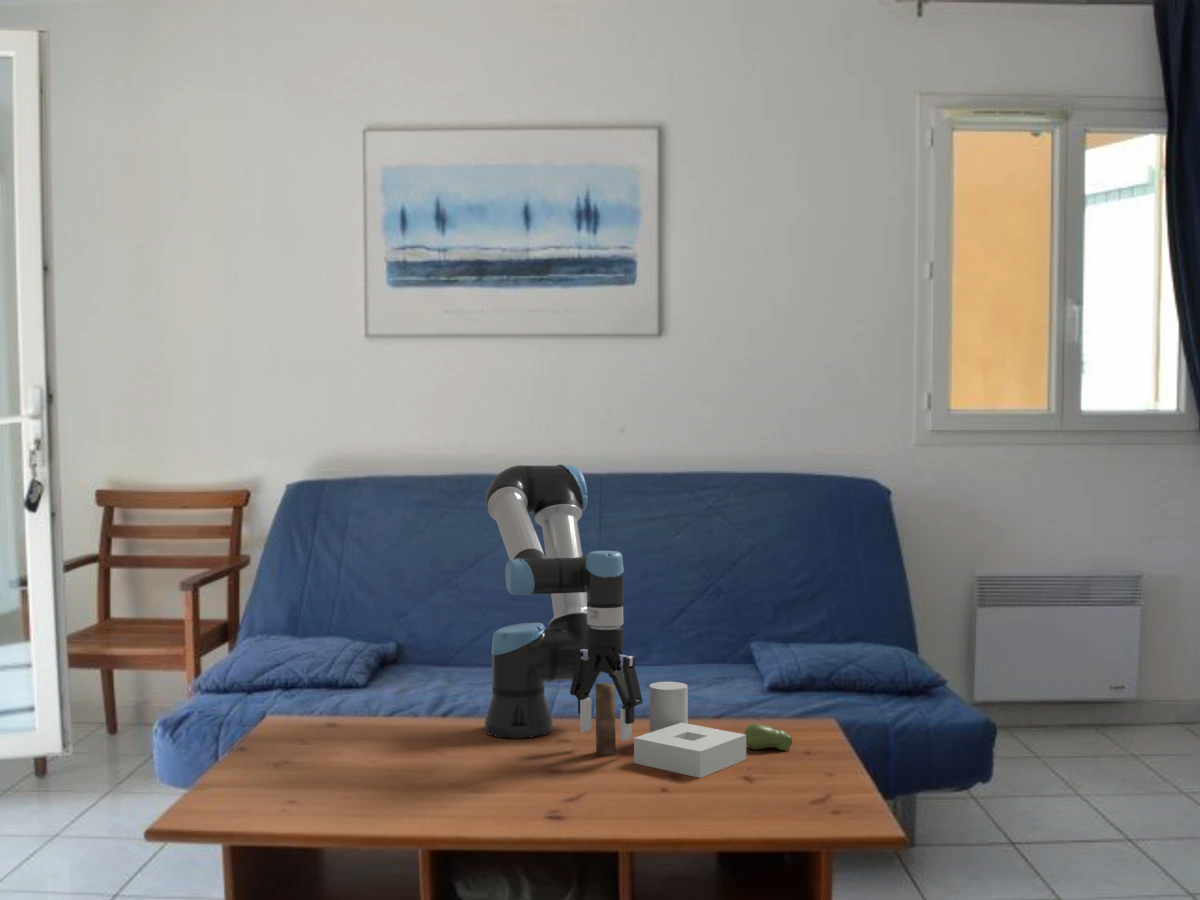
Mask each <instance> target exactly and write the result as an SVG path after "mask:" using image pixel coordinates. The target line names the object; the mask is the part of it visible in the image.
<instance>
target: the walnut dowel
mask: <svg viewBox="0 0 1200 900" xmlns="http://www.w3.org/2000/svg"><path fill="white" fill-rule="evenodd" d="M616 747H617V746H616V687H615V684H614V683H612V682H600V683H596V684H595V753H597V754H598V755H597V754H596V755H597V756H601V755H602V757H607V756H608V757H609V756H610V755H611V756H613V755H616V754H615V753H617V752H616Z"/></svg>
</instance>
